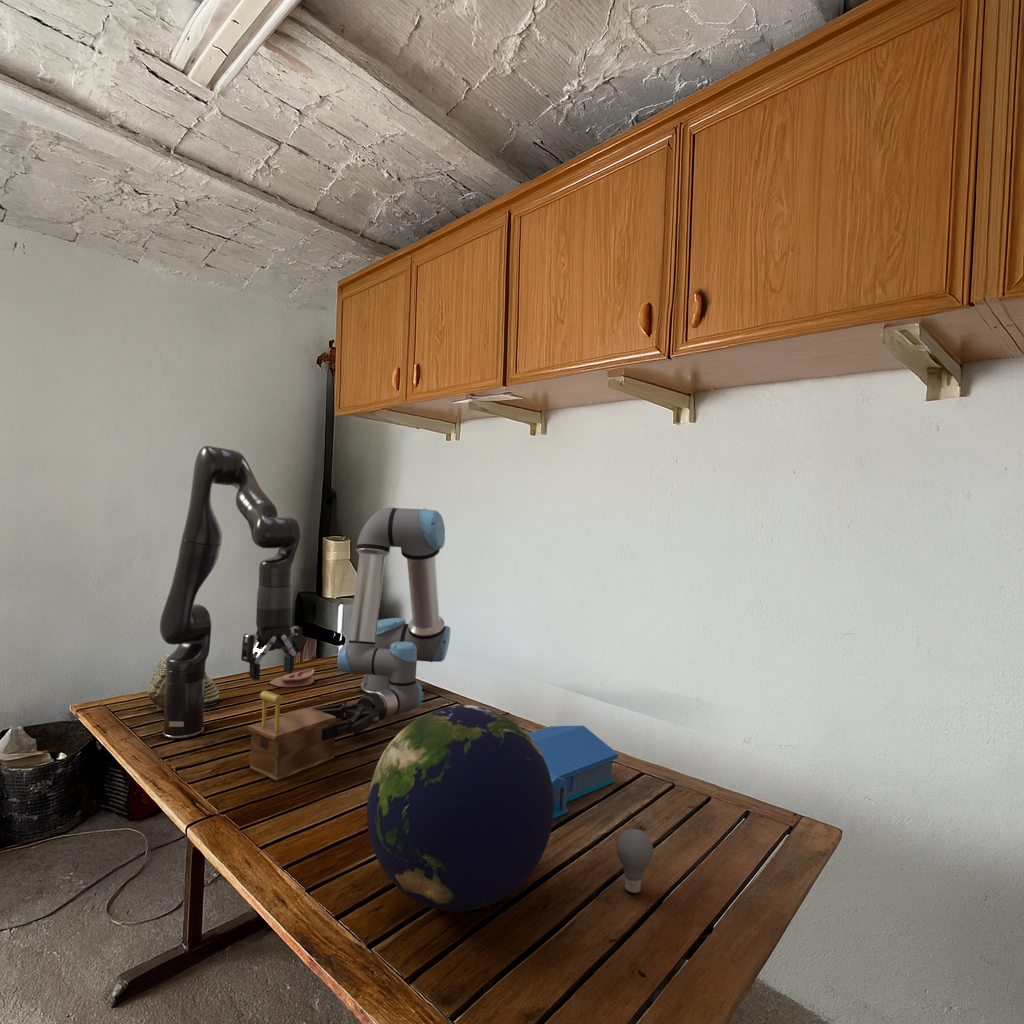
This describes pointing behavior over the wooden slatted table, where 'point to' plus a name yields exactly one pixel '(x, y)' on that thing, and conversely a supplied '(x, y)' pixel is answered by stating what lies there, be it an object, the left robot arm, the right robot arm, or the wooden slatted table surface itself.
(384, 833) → the globe
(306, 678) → the anatomical model
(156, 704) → the fossil
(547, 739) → the model building
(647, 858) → the light bulb
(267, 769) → the chest
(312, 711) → the lid
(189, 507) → the left robot arm
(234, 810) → the wooden slatted table surface
